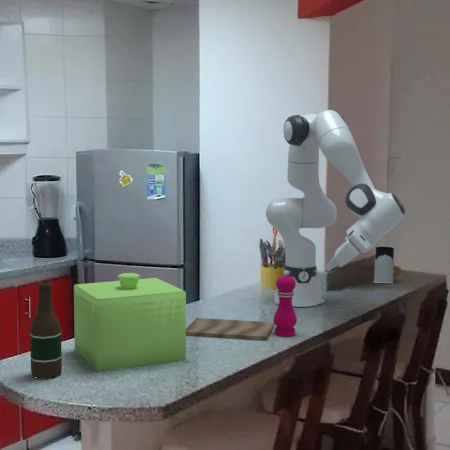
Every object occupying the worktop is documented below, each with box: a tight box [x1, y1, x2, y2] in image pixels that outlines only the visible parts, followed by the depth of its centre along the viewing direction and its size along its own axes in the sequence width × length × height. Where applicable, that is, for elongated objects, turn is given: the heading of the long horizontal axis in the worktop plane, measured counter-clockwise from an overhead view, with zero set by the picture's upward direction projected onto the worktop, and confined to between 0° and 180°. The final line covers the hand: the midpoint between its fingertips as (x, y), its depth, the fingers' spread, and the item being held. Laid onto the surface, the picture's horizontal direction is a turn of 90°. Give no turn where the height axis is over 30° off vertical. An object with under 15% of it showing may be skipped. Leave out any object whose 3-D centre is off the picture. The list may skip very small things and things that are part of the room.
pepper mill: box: [273, 270, 298, 337], centre depth 231 cm, size 7×7×20 cm
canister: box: [73, 272, 187, 373], centre depth 207 cm, size 25×21×23 cm
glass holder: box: [372, 246, 395, 284], centre depth 318 cm, size 9×14×15 cm, turn 170°
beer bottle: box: [29, 281, 63, 379], centre depth 189 cm, size 8×8×24 cm
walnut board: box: [186, 317, 275, 341], centre depth 236 cm, size 26×18×1 cm
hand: (326, 269), depth 228 cm, fingers closed
